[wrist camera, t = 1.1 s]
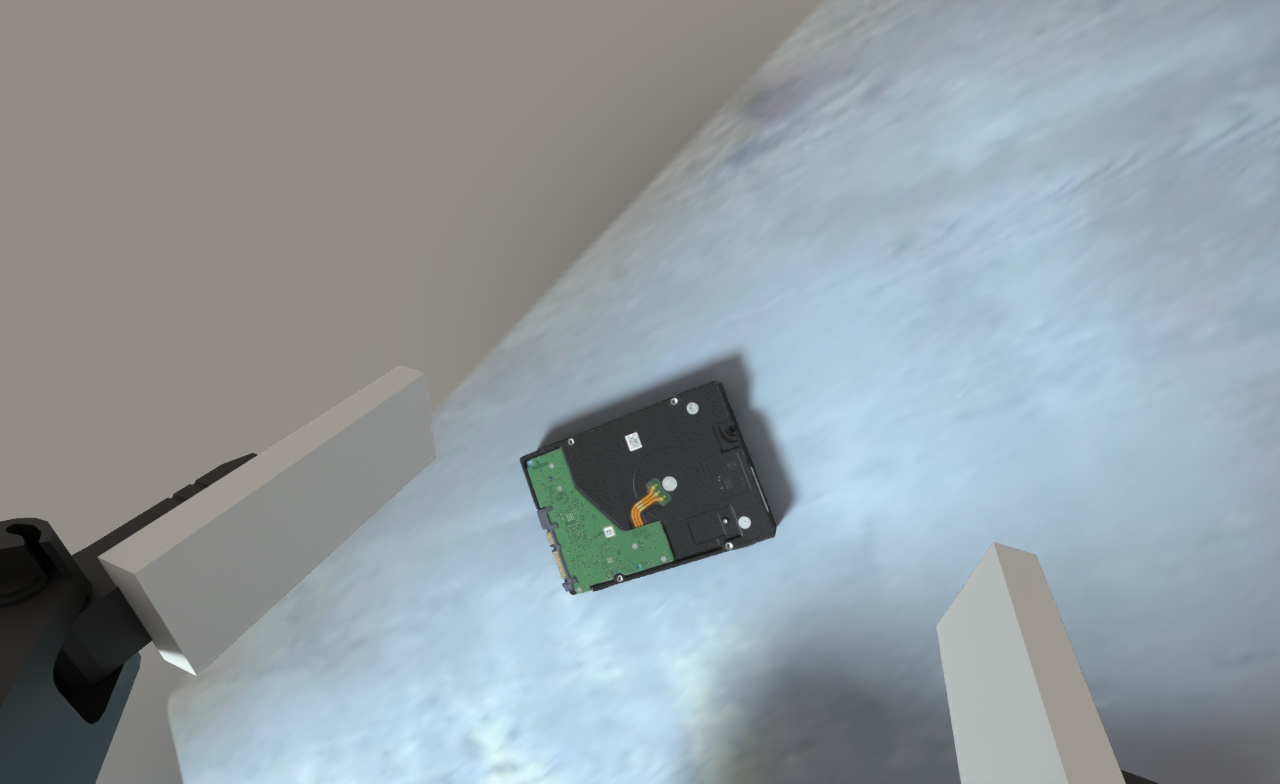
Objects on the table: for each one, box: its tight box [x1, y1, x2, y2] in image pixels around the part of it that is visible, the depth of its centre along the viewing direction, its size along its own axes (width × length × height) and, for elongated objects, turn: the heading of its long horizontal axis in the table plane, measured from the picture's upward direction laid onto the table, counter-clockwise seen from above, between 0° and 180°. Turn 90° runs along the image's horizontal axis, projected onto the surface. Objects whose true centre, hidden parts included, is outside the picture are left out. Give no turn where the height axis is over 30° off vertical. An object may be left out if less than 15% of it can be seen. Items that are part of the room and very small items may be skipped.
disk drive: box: [520, 381, 776, 595], centre depth 35 cm, size 10×3×15 cm
